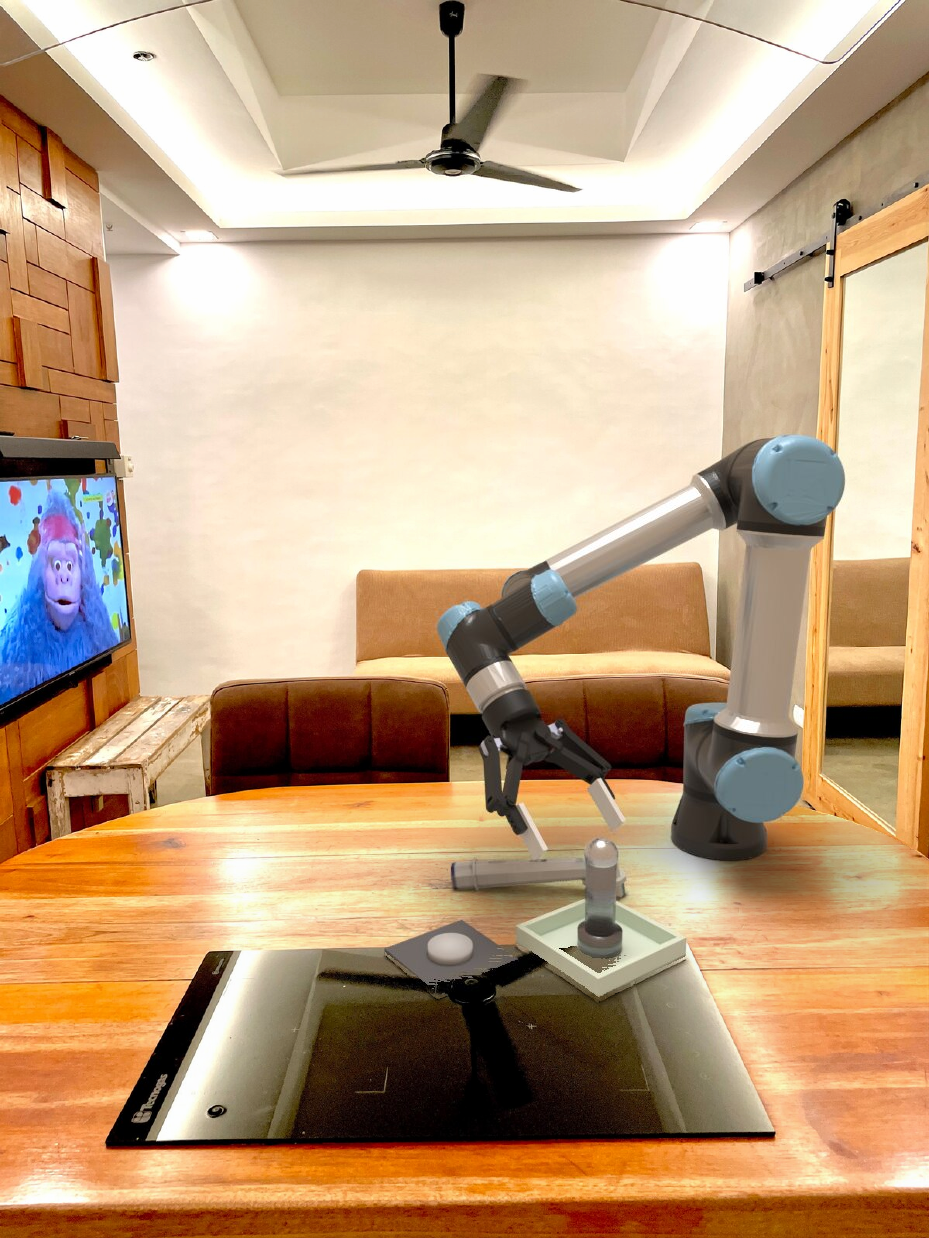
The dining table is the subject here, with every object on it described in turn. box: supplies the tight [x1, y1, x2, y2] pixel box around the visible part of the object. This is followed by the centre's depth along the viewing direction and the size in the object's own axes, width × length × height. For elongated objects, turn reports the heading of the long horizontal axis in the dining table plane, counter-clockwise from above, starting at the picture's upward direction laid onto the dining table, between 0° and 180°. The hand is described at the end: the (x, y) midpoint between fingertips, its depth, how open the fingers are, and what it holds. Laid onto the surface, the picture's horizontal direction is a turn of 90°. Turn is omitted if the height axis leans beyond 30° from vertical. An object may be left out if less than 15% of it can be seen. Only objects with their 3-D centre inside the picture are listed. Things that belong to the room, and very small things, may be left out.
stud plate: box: [384, 919, 519, 989], centre depth 109 cm, size 12×12×2 cm
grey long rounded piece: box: [450, 857, 627, 898], centre depth 127 cm, size 5×7×25 cm
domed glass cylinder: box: [577, 836, 623, 959], centre depth 109 cm, size 6×6×14 cm
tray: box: [515, 898, 687, 997], centre depth 110 cm, size 15×15×3 cm
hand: (581, 840), depth 111 cm, fingers open, 13 cm apart
